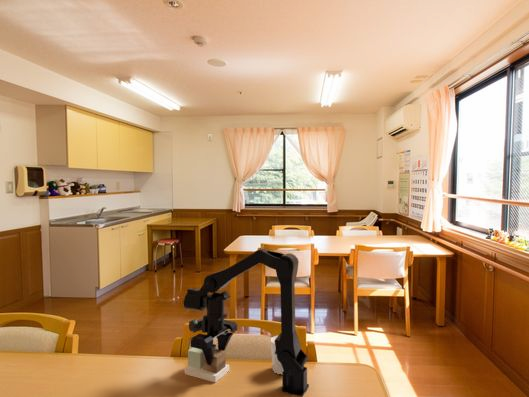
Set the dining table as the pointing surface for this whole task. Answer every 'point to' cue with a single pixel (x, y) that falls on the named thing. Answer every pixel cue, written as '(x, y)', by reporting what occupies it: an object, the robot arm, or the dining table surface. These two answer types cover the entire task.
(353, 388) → the dining table surface
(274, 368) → the white cup
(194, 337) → the robot arm
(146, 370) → the dining table surface
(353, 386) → the dining table surface
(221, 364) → the walnut cube
